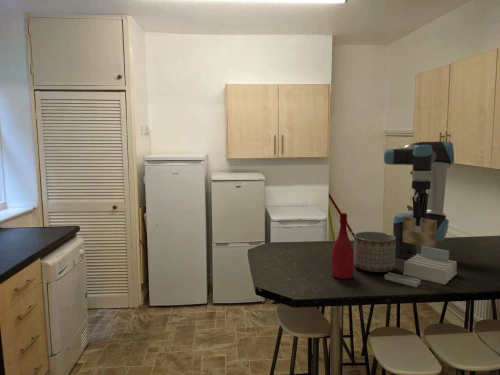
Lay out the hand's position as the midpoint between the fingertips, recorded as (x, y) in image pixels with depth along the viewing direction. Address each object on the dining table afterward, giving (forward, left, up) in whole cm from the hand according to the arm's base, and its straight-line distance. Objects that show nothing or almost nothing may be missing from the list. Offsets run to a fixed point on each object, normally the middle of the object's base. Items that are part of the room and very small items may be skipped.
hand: (419, 232), depth 159 cm
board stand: (-4, -8, -22) cm, 24 cm away
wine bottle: (-27, -20, -22) cm, 40 cm away
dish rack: (+2, +10, -22) cm, 24 cm away
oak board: (0, 0, -6) cm, 6 cm away
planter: (-21, 0, -22) cm, 30 cm away
